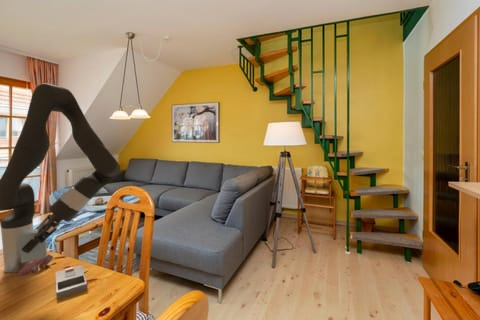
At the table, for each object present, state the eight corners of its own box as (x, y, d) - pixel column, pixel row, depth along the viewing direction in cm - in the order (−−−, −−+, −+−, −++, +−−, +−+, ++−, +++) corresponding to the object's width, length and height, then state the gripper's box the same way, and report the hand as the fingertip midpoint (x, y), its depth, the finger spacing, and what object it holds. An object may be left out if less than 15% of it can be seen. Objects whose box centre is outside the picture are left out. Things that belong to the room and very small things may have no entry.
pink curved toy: (26, 281, 89) (31, 266, 88) (16, 275, 90) (22, 259, 89) (51, 267, 99) (57, 253, 98) (42, 262, 99) (48, 248, 98)
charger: (22, 257, 76) (20, 231, 75) (46, 252, 80) (45, 227, 79) (21, 263, 73) (19, 235, 72) (46, 257, 77) (44, 231, 76)
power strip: (56, 281, 87) (55, 270, 86) (82, 273, 92) (82, 263, 91) (57, 303, 75) (56, 291, 75) (87, 293, 80) (86, 281, 80)
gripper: (59, 193, 85) (15, 235, 79) (61, 201, 74) (9, 251, 67) (78, 205, 89) (37, 246, 82) (82, 215, 78) (36, 263, 71)
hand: (25, 248), depth 75 cm, fingers closed on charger, 4 cm apart
